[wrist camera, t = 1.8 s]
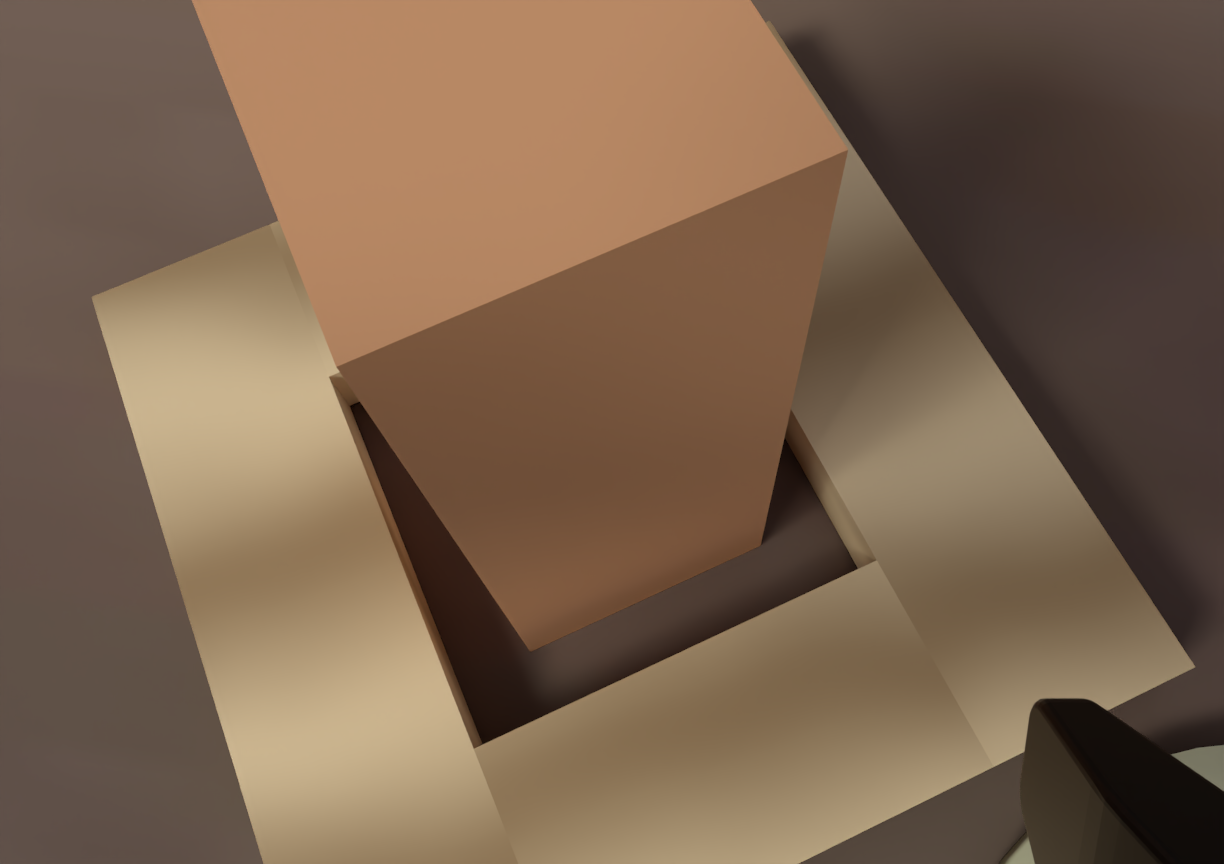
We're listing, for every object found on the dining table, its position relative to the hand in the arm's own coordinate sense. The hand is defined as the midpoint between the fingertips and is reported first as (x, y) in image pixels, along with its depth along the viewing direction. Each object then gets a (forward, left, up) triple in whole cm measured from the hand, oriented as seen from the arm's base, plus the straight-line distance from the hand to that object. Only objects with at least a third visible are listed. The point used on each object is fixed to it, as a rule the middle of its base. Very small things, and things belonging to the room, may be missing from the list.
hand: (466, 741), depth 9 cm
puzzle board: (+6, -3, -12) cm, 14 cm away
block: (+6, -3, -12) cm, 14 cm away
